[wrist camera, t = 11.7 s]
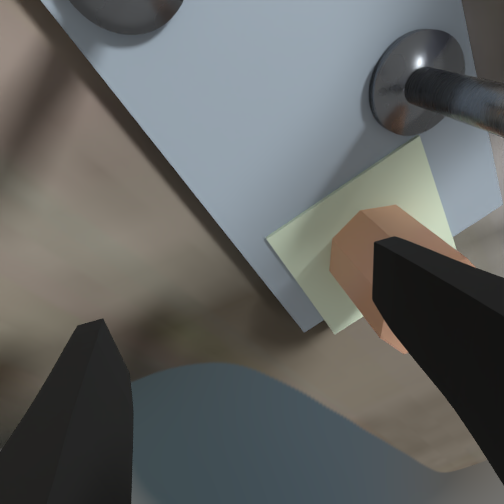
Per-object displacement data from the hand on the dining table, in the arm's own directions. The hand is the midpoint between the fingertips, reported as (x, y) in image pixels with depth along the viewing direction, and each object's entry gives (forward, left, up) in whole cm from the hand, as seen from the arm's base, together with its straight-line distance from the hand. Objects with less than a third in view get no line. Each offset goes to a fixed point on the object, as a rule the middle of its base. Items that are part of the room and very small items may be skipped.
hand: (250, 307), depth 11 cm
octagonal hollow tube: (-11, 0, -9) cm, 14 cm away
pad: (-11, 0, -10) cm, 14 cm away
